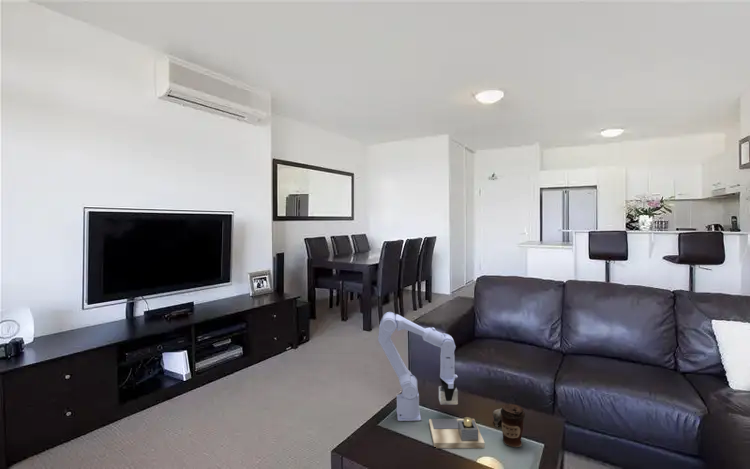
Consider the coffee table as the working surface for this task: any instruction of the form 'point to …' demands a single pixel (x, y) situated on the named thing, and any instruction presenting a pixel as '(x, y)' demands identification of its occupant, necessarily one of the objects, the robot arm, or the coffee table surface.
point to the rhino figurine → (497, 416)
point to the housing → (443, 398)
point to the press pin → (467, 422)
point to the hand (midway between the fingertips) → (447, 397)
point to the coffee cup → (512, 424)
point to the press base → (455, 434)
